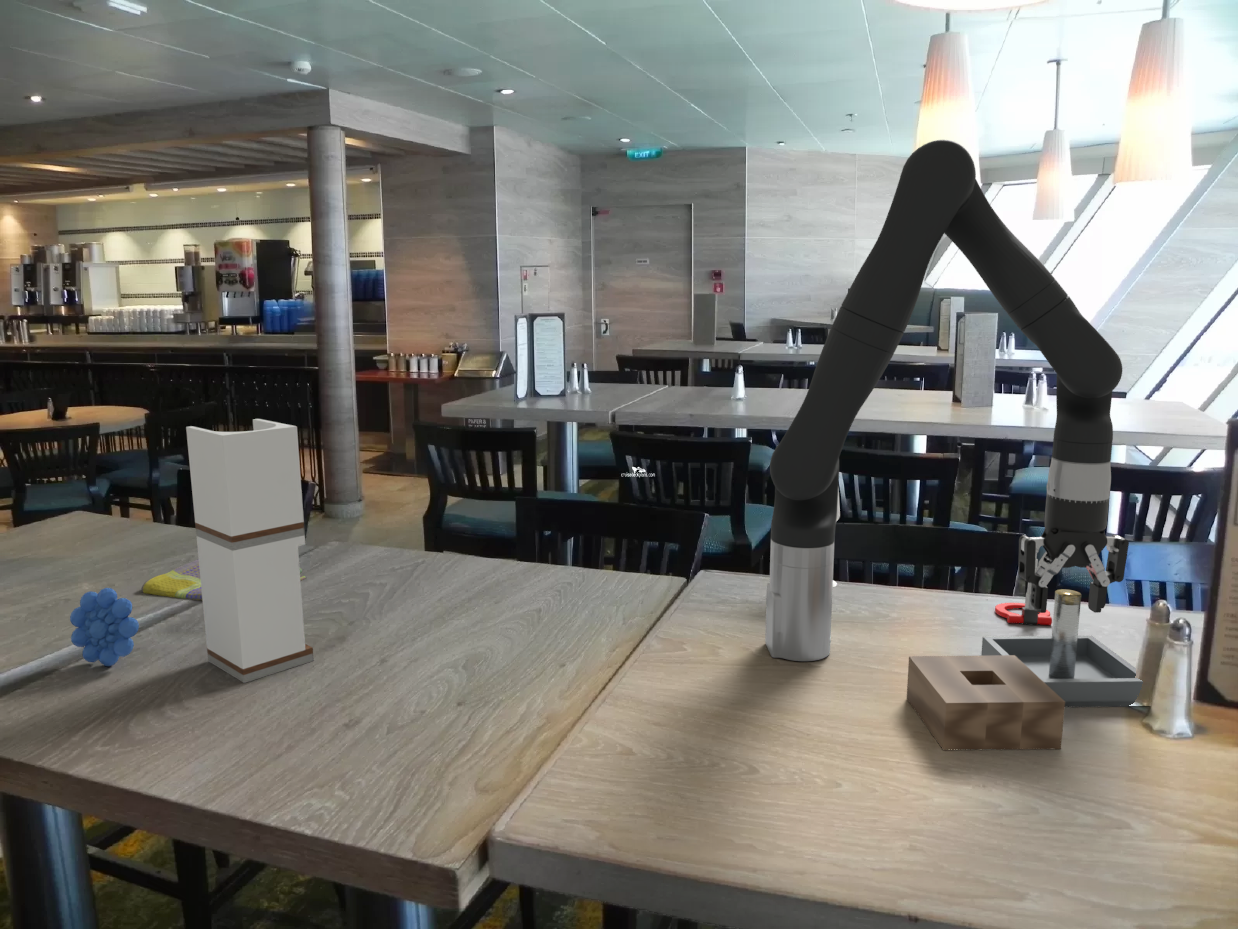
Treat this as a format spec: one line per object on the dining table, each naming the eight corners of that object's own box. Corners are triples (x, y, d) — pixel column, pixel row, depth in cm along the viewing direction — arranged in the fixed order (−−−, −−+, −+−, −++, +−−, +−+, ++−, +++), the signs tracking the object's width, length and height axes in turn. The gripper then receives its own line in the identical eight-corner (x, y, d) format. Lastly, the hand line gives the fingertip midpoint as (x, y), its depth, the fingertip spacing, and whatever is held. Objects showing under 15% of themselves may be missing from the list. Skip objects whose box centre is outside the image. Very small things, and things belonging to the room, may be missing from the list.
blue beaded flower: (163, 658, 141) (155, 581, 138) (128, 676, 134) (119, 596, 132) (99, 650, 144) (90, 575, 141) (62, 668, 137) (52, 589, 135)
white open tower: (313, 660, 139) (296, 426, 133) (244, 683, 132) (222, 435, 125) (276, 641, 147) (258, 418, 140) (208, 661, 139) (186, 426, 133)
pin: (1055, 681, 129) (1062, 597, 127) (1044, 671, 132) (1051, 589, 130) (1078, 680, 129) (1085, 596, 127) (1067, 671, 132) (1074, 589, 130)
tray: (1028, 707, 123) (1030, 682, 122) (981, 659, 138) (982, 636, 138) (1150, 706, 123) (1153, 681, 122) (1089, 658, 139) (1091, 635, 138)
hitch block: (943, 750, 112) (946, 703, 111) (906, 698, 126) (908, 656, 124) (1060, 749, 112) (1065, 701, 111) (1011, 697, 126) (1014, 655, 124)
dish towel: (244, 610, 163) (243, 594, 162) (135, 595, 171) (133, 580, 170) (309, 579, 179) (308, 565, 178) (206, 567, 187) (205, 554, 186)
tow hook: (989, 607, 161) (1002, 624, 152) (994, 534, 160) (1008, 546, 151) (1041, 610, 160) (1058, 627, 151) (1047, 536, 158) (1064, 548, 149)
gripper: (1036, 499, 122) (1026, 621, 125) (1147, 498, 122) (1134, 620, 125) (1012, 486, 129) (1003, 602, 132) (1116, 486, 129) (1105, 601, 132)
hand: (1067, 610), depth 129 cm, fingers open, 7 cm apart
